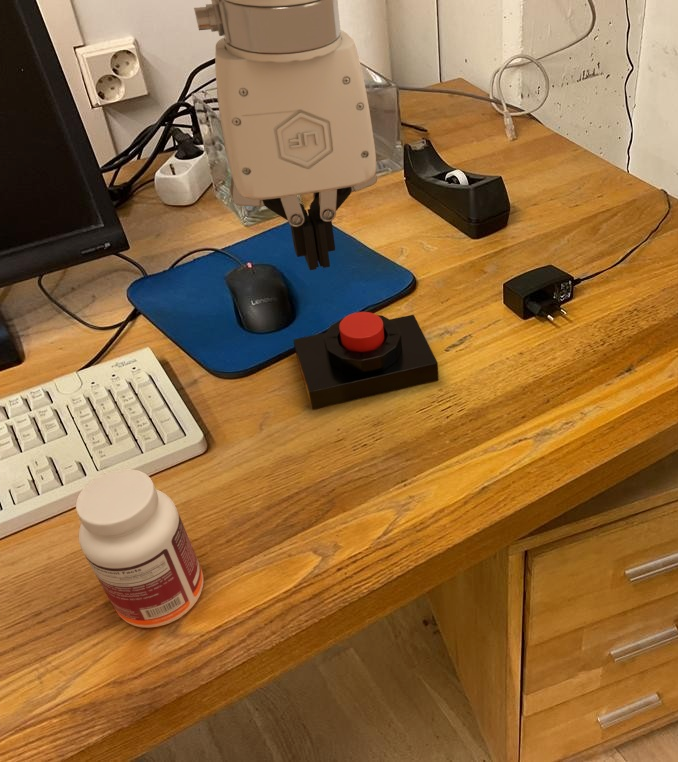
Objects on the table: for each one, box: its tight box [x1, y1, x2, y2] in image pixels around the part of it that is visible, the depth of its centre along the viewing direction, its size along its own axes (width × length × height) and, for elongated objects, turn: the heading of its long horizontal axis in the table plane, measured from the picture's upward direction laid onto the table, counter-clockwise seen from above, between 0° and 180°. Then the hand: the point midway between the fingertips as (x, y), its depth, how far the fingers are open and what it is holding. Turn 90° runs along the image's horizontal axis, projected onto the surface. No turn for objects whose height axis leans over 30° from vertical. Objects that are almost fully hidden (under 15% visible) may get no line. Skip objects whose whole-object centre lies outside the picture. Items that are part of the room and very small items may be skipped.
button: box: [339, 311, 384, 352], centre depth 75 cm, size 4×4×2 cm
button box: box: [292, 314, 439, 411], centre depth 77 cm, size 12×8×4 cm, turn 111°
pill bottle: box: [75, 468, 204, 628], centre depth 55 cm, size 6×6×11 cm
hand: (316, 259), depth 65 cm, fingers closed
